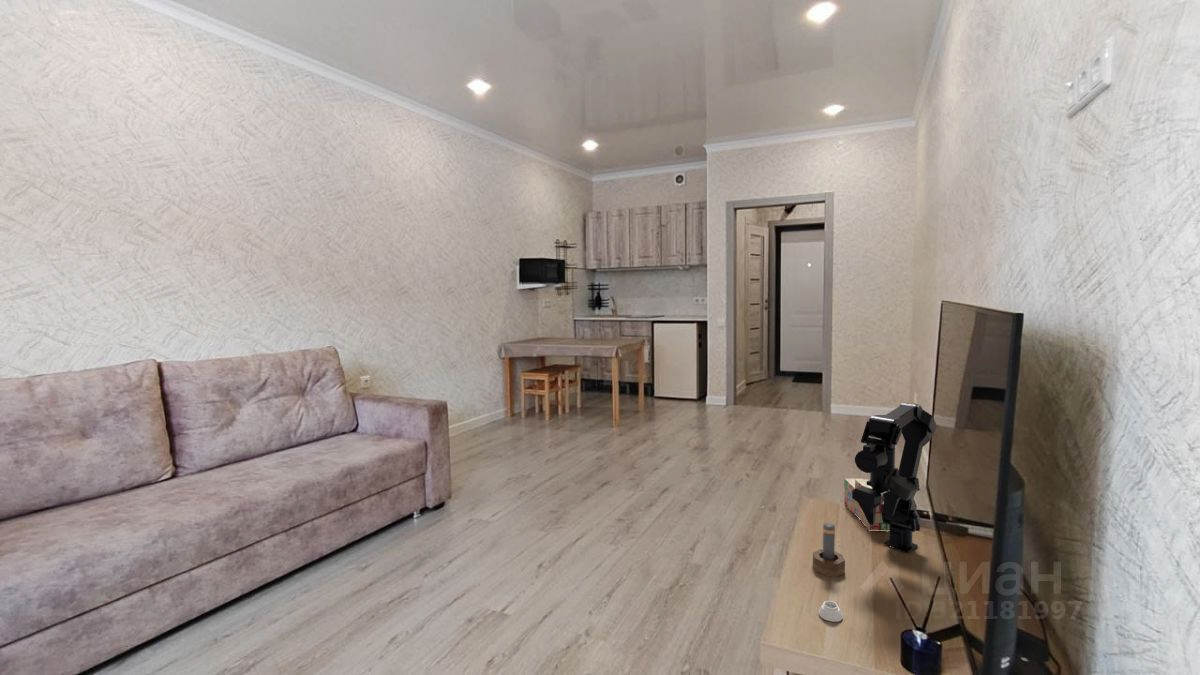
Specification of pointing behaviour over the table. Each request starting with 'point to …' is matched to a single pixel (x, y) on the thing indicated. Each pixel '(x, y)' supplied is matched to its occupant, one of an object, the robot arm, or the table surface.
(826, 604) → the white jar
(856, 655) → the table surface
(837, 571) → the bead
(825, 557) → the grey knob-topped cylinder
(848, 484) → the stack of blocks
